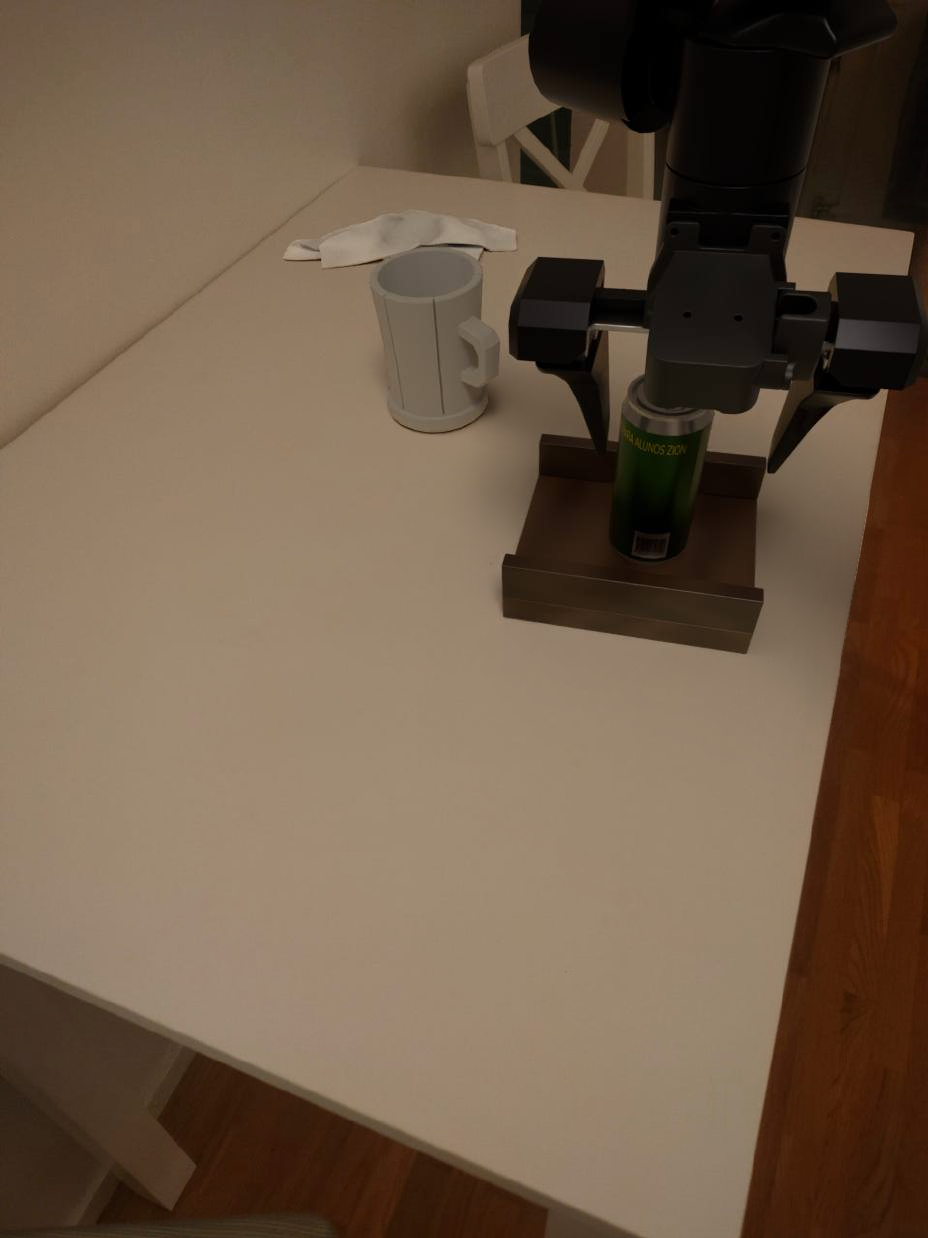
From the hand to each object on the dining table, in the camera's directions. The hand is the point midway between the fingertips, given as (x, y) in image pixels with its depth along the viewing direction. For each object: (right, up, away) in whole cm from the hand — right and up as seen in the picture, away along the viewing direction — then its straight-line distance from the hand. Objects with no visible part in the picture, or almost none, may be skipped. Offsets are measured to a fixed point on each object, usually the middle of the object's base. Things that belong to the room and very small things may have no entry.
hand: (684, 460), depth 46 cm
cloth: (-19, +34, +48) cm, 61 cm away
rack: (0, -5, +13) cm, 13 cm away
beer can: (0, -4, +11) cm, 12 cm away
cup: (-14, +10, +26) cm, 31 cm away
